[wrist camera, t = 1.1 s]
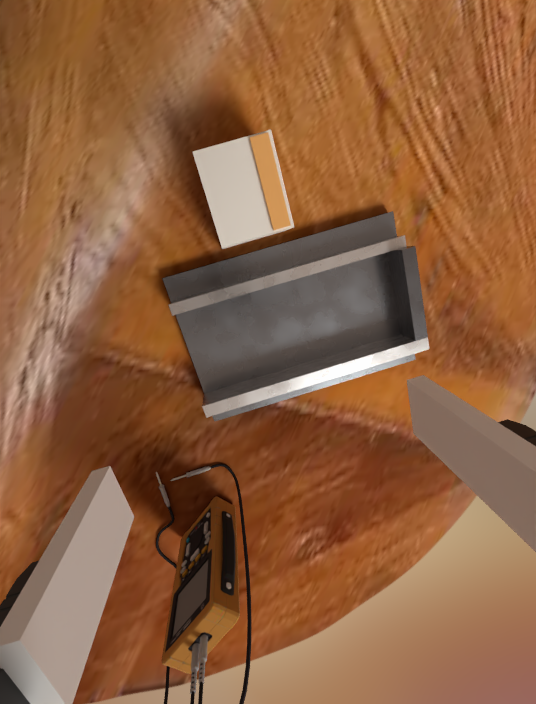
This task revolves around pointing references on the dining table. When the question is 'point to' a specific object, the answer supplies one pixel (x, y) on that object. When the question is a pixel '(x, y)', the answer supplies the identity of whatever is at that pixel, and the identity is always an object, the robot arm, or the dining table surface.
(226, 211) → the block
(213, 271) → the rail base
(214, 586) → the multimeter
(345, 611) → the dining table surface
